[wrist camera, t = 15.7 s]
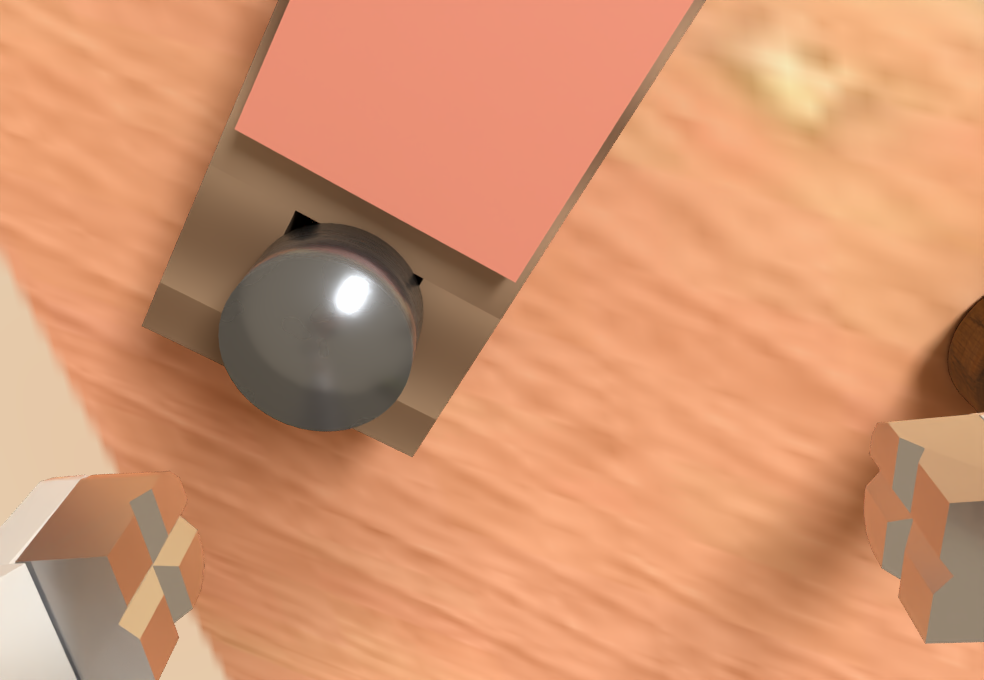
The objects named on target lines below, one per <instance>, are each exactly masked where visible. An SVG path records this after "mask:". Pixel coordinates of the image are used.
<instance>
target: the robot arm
mask: <svg viewBox="0 0 984 680" xmlns="http://www.w3.org/2000/svg"><path fill="white" fill-rule="evenodd" d="M869 454H870V456H871V457H872V459H873V460H874V462H875V464H876V465H877V467H878V468H879V470H880V471H879V472H878V473H877V475H876V476H875V477H874V478H873V479H872V480H871V481H870V482H869V483H868V484H867V485H866V487H865V498H864V519H865V526H866V533H867V537H868V540H869V543H870V546H871V549H872V551H873V553H874V555H875V557H876V559H877V561H878V563H879V564H880V566H881V568H882V569H884V570H886V571H887V572H889V573H891V574H892V575H894V576H896V577H897V578H899V579H901V581H900V588H899V595H898V598H899V599H900V601H901V603H902V605H903V606H904V608H905V610H906V611H907V613H908V615H909V617H910V618H911V620H912V622H913V623H914V625H915V627H916V629H917V630H918V632H919V634H920V635H921V637H922V639H923V641H924V642H925V643H961V642H984V412H983V413H973V414H969V415H958V416H947V417H936V418H925V419H914V420H903V421H892V422H881V423H877V424H876V427H875V429H874V431H873V434H872V438H871V445H870V453H869ZM187 501H188V499H187V496H186V493H185V491H184V488H183V485H182V483H181V480H180V477H178V476H177V475H175V474H174V473H172V472H171V471H161V472H141V473H120V474H100V475H91V476H87V475H79V476H67V477H55V478H50V479H47V480H43V481H41V482H39V484H38V485H37V486H36V487H35V488H34V489H33V490H32V492H31V493H30V494H29V495H28V496H27V497H26V498H25V500H24V501H23V502H22V503H21V504H20V505H19V506H18V508H17V509H16V510H15V511H14V512H13V513H12V515H11V516H10V517H9V518H8V519H7V520H6V521H5V522H4V524H3V525H2V526H1V527H0V680H159V678H160V676H161V674H162V672H163V670H164V668H165V666H166V664H167V661H168V660H169V657H170V655H171V653H172V651H173V649H174V647H175V645H176V643H177V641H178V639H179V636H178V633H177V630H176V628H175V625H174V623H175V622H176V621H177V620H178V619H180V618H181V617H183V616H184V615H185V614H186V613H188V612H189V611H190V610H192V609H193V607H194V605H195V603H196V600H197V598H198V596H199V594H200V591H201V588H202V581H203V574H204V567H205V564H204V554H203V546H202V543H201V539H200V536H199V533H198V530H197V529H196V528H194V527H193V526H192V525H191V524H190V523H188V522H187V521H186V520H185V519H184V518H182V517H181V516H180V515H181V513H182V511H183V509H184V507H185V505H186V503H187Z"/></svg>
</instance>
